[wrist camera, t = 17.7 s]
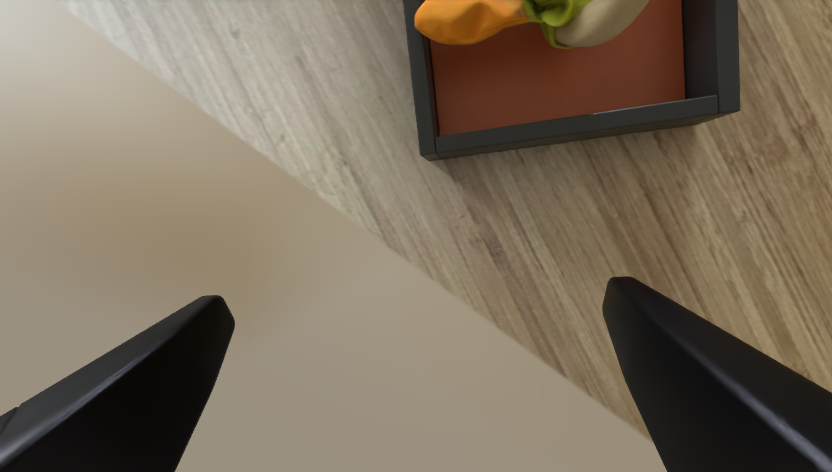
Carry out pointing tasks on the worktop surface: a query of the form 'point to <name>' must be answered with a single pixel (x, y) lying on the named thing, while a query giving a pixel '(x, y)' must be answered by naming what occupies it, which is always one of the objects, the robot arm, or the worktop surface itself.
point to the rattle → (527, 19)
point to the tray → (574, 81)
